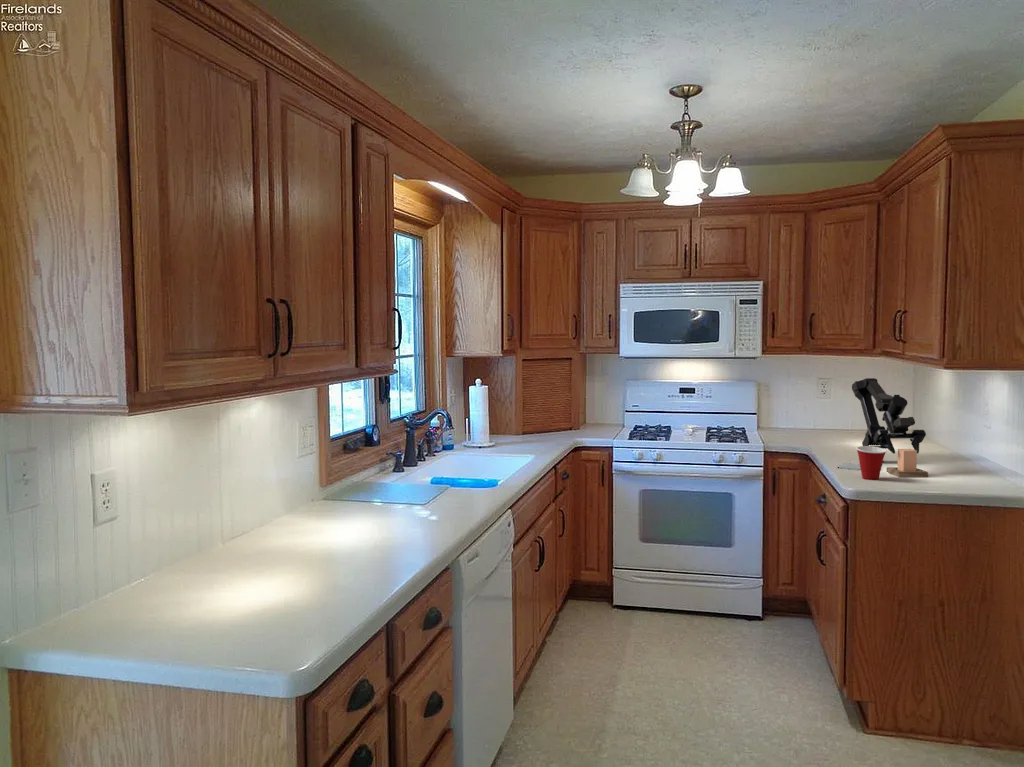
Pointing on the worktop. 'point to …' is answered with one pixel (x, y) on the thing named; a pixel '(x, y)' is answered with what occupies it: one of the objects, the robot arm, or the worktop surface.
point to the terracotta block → (907, 460)
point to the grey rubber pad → (850, 466)
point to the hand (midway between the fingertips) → (906, 452)
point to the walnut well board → (907, 472)
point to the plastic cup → (870, 461)
